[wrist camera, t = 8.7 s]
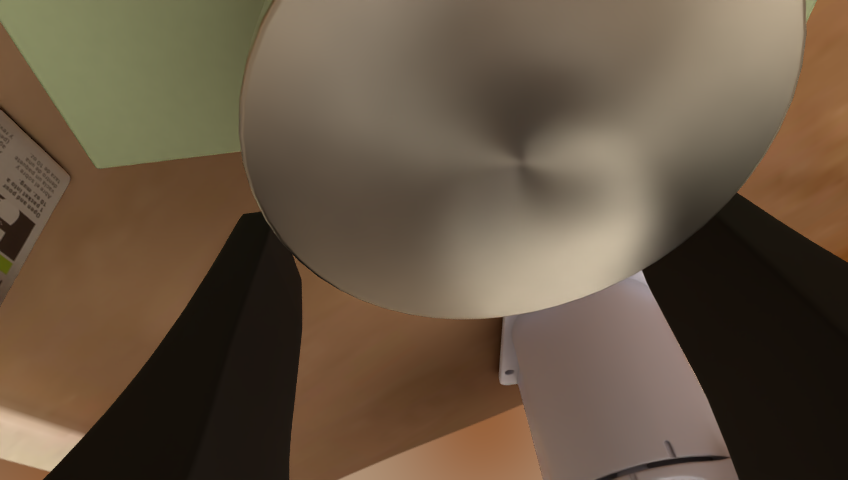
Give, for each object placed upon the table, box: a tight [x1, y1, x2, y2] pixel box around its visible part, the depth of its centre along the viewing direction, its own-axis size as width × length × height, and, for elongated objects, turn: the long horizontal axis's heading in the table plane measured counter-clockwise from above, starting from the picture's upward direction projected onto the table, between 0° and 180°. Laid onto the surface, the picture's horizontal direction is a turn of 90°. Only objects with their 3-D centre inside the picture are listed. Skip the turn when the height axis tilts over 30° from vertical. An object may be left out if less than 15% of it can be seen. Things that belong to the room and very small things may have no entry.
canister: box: [238, 0, 806, 319], centre depth 7 cm, size 5×5×6 cm
